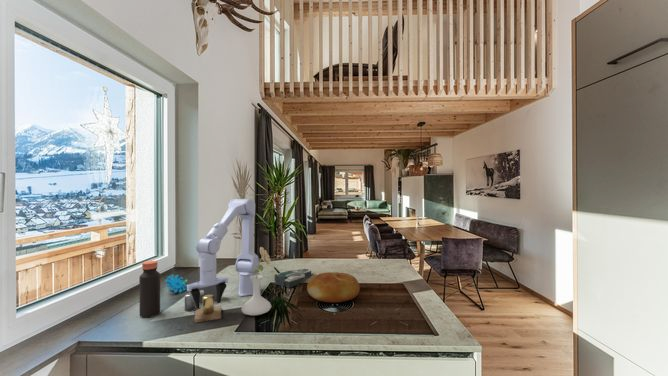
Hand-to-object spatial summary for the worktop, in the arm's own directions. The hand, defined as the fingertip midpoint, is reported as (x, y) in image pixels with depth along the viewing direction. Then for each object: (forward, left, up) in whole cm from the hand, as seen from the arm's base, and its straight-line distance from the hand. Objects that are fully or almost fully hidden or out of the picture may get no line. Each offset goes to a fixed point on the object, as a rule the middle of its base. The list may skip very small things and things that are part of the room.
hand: (208, 305), depth 109 cm
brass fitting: (0, 0, -3) cm, 3 cm away
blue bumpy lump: (+15, -34, -4) cm, 37 cm away
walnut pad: (0, 0, -4) cm, 4 cm away
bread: (-52, -1, -4) cm, 52 cm away
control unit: (+1, -16, -4) cm, 17 cm away
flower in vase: (-18, +3, -4) cm, 19 cm away
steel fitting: (+7, -9, -4) cm, 12 cm away
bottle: (+21, -10, -4) cm, 24 cm away
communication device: (-42, -29, -4) cm, 51 cm away
